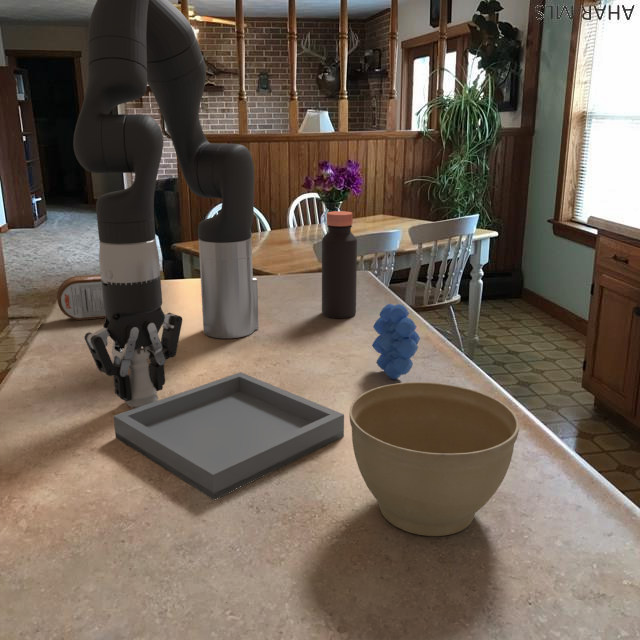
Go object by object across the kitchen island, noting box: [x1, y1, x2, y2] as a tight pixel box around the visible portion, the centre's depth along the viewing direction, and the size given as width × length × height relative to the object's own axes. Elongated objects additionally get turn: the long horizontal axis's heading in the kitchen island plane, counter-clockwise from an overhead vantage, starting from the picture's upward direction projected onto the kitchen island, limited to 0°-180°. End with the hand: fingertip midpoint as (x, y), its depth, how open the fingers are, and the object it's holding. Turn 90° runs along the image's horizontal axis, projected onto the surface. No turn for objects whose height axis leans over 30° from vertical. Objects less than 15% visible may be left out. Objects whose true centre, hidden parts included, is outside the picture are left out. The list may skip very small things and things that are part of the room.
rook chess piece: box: [124, 347, 159, 409], centre depth 93 cm, size 4×4×8 cm
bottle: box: [321, 210, 358, 319], centre depth 131 cm, size 7×7×20 cm
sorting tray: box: [113, 371, 345, 501], centre depth 84 cm, size 20×20×3 cm
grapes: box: [371, 303, 421, 380], centre depth 101 cm, size 12×7×12 cm, turn 19°
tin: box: [56, 274, 106, 321], centre depth 131 cm, size 15×3×8 cm, turn 108°
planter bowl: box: [348, 381, 520, 537], centre depth 67 cm, size 16×16×11 cm
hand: (141, 393), depth 94 cm, fingers closed on rook chess piece, 4 cm apart
